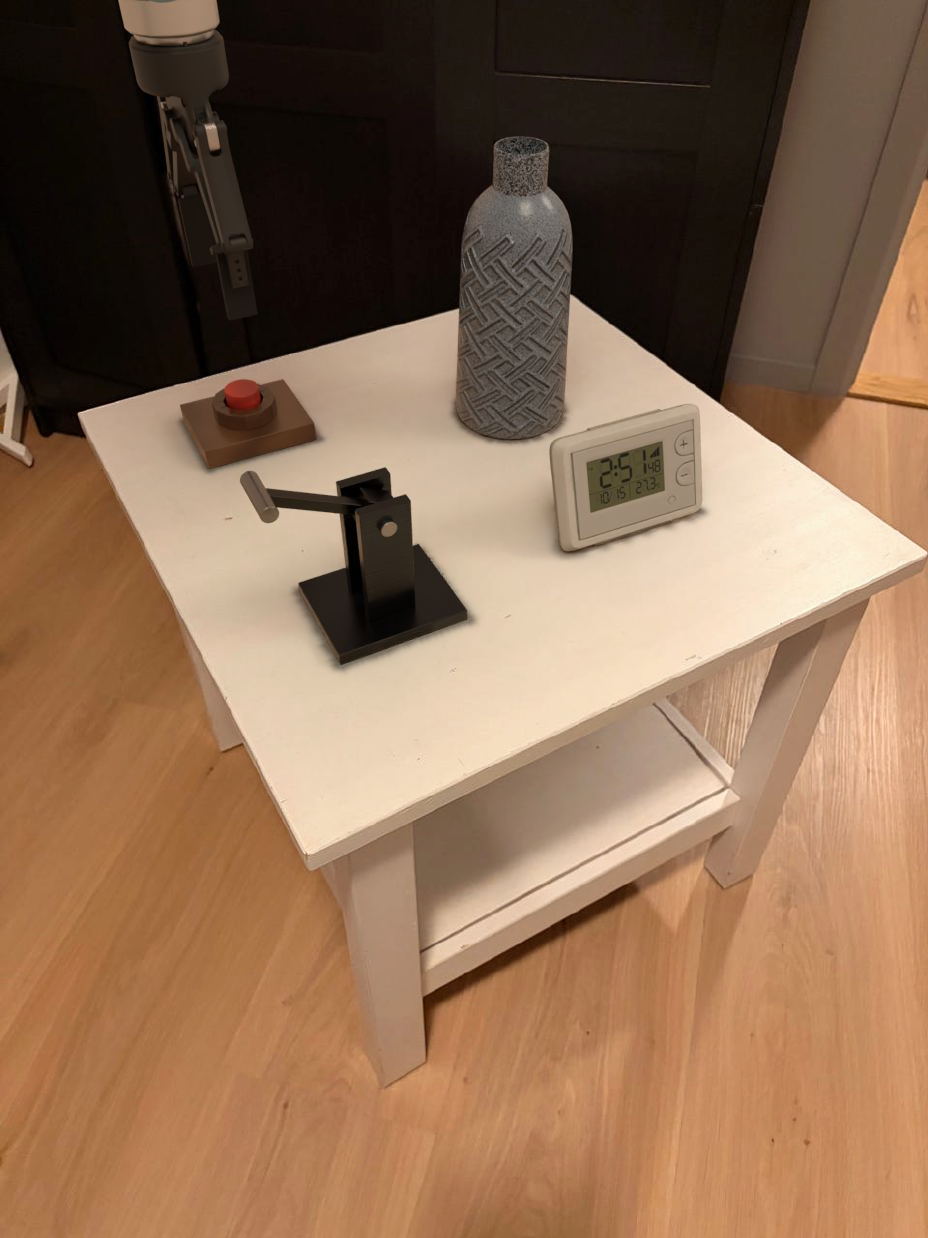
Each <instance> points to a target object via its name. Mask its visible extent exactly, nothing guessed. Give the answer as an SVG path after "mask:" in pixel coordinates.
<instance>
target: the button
mask: <svg viewBox="0 0 928 1238" xmlns="http://www.w3.org/2000/svg"><path fill="white" fill-rule="evenodd" d="M258 384H259V383H257V382H256V381H255V380H252V379H248V378H241V379H236V380H235V379H234V380H231V381H229V382H228V383H227V384H226V385H225V386H224V388H223V389H224V392H225V397H226V402H227V405H228V407H229V408H231V409H234V410H246V409H250V408H254V407H256V406H257V405H259V404H260V402H261V398H260V392H259V387H258Z"/></svg>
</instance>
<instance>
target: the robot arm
mask: <svg viewBox="0 0 928 1238" xmlns="http://www.w3.org/2000/svg"><path fill="white" fill-rule="evenodd" d="M217 1H218V0H118V5H119V10H120V14H121V18H122V22H123V27H124V29H125V30H126V31H127V32H128V33H130V34H131V35H132V36H131V37H130V40H129V41H128V47H129V51H130V56H131V60H132V66H133V70H134V74H135V79H136V82H137V85H138V87H139V88H140V89H141V91H143V92H144V93H147V95H151V96H155V97H156V98H157V99H156V100H157V103H158V108H159V109H158V110H159V117H160V124H161V132H162V139H163V140H162V141H163V147H164V154H165V162H166V170H167V174H166V175H167V179H168V180H169V181H170V182H169V183H171V184H173V192H174V193H175V194H176V196H177V197H180V196H181V198H177V203H178V207H179V213H180V215H181V216H180V217H181V222H182V227H183V231H184V236H185V240H186V241H185V242H186V246H187V250H188V255H189V260H190V265H191V266H192V268H197V267H202V266H203V267H204V266H207V265H212V264H217V270H218V276H219V280H220V286H221V291H222V297H223V301H224V307H225V312H226V317H227V319H228V321H236V320H240V319H243V318H248V317H254V316H258V315H259V313H258V307H257V302H256V296H255V289H254V282H253V277H252V271H251V264H250V260H249V252H248V250H253V249H254V239H253V238H252V234H251V230H250V226H249V225H250V224H249V222H248V218H247V214H246V209H245V205H244V201H243V198H242V193H241V189H240V186H239V181H238V177H237V174H236V169H235V165H234V161H233V157H232V154H231V149H230V143H229V138H228V137H229V136H228V126H227V124H226V123H225V121H224V120H220V117H219V115H218V113H217V111H213V110H212V106H211V103H210V101H209V100H210V99H209V97H210V96H211V94H212V93H214V92H215V91H216V92H218V91H220V90H222V89H223V88H225V87H226V86H227V85H228V83H229V81H230V73H229V66H228V61H227V55H226V47H225V40H224V37H223V35H221V33H220V32H219V31H218V30H216V28H217V27H218V26H219V24H220V22H221V21H220V14H219V9H218V2H217ZM199 193H200V194H199Z"/></svg>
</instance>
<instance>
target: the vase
mask: <svg viewBox="0 0 928 1238" xmlns="http://www.w3.org/2000/svg"><path fill="white" fill-rule="evenodd" d="M492 157H493V158H492V183H491V185H490V186H489V187H487V188H486V189H485V190H484V191H482V193H480V195H478V197H477V198H476V199H475V200H474V202H473V203H472V205H471V207H470V208H469V210H468V213H467V215H466V218H465V222H464V227H463V232H462V238H461V250H460V272H459V273H460V276H459V301H458V304H459V305H458V324H457V325H458V326H457V328H458V329H457V350H456V351H457V354H456V377H455V378H456V379H455V380H456V381H455V407H456V410H457V413H458V416H459V418H460V420H461V421H462V423H463V424H464V425H465V426H467V428H469V429H471V430H473V431H475V432H477V433H479V434H481V435H484V436H488V437H491V438H497V439H503V440H505V439H506V440H518V439H519V440H520V439H526V438H527V439H528V438H532V437H536V436H539V435H543V434H544V433H546V432H548V431H549V430H551V429H552V428H554V427H555V426H556V425H557V424H558V423H559V421H560V419H561V416H562V415H563V412H564V408H565V397H566V382H567V381H566V380H567V364H568V363H567V362H568V346H569V345H568V343H569V324H570V307H571V305H570V303H571V287H572V270H573V269H572V267H573V253H574V252H573V251H574V250H573V245H574V244H573V231H572V223H571V220H570V215H569V213H568V210H567V208H566V206H565V204H564V202H563V201H562V200H561V199H560V197H559V196H558V194H556V192H554V191H553V190H552V189H551V187H549V186H548V176H549V162H550V146H549V144H548V143H547V142H546V141H544V140H542V139H539V138H537V137H531V136H510V137H509V136H508V137H504V138H501V139H499V140H497V141H496V142H495V143H494V145H493V155H492Z"/></svg>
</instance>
